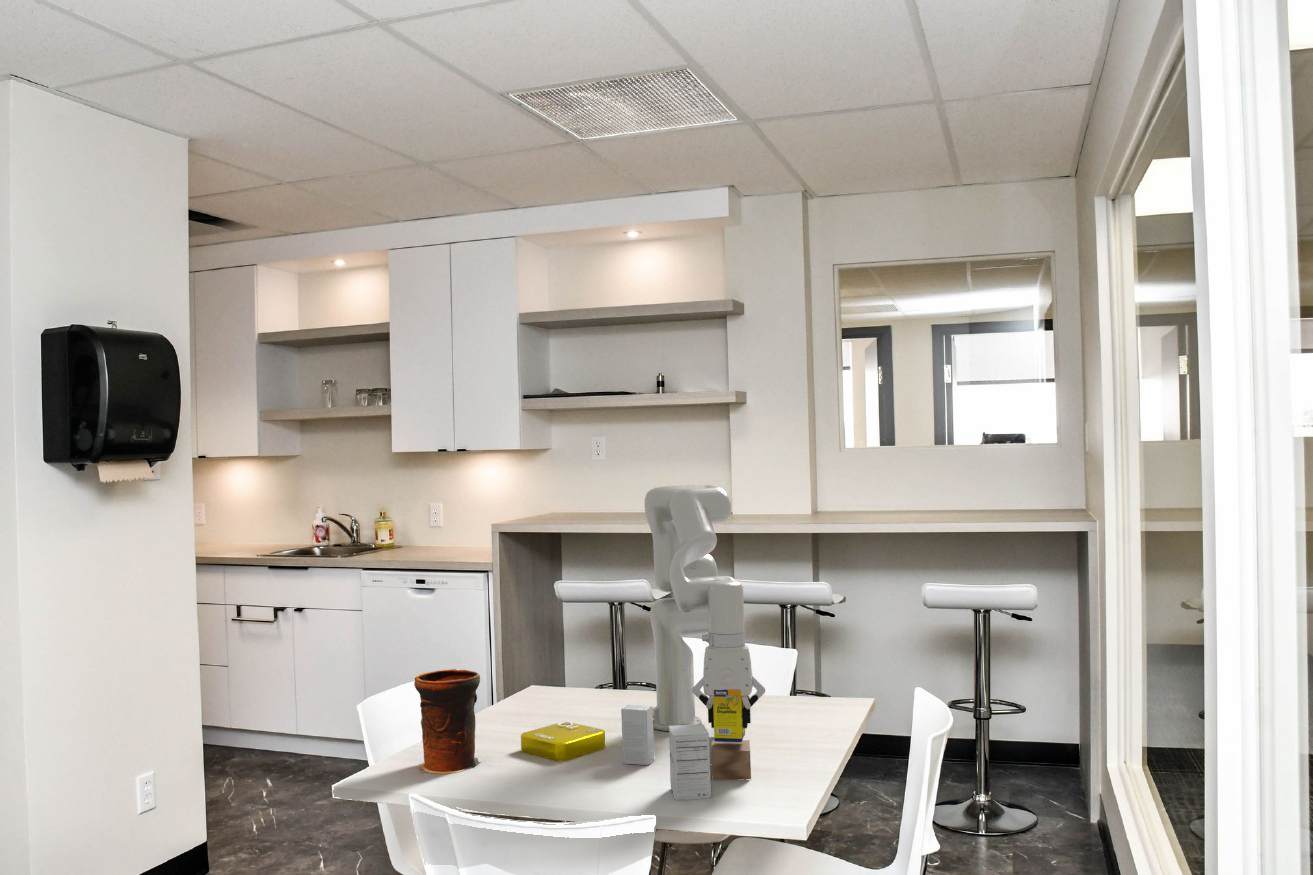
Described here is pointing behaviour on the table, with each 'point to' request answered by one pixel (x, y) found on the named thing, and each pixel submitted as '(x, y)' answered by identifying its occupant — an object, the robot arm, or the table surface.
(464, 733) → the vessel
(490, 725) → the table surface
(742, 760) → the walnut block
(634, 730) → the skincare box
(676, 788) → the supplement box
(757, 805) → the table surface
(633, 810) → the table surface
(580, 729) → the element tile
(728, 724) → the supplement box
